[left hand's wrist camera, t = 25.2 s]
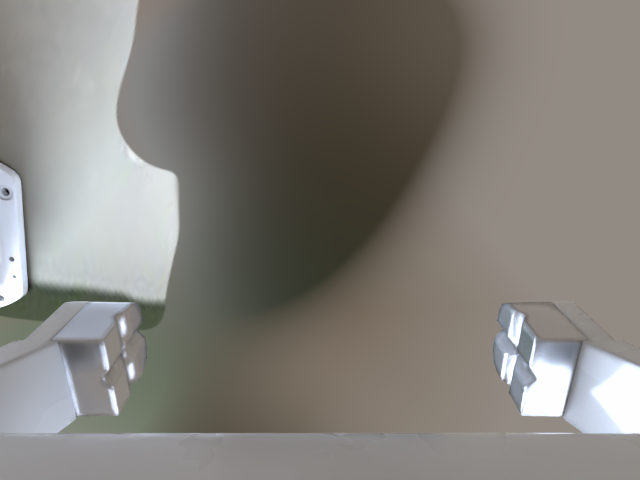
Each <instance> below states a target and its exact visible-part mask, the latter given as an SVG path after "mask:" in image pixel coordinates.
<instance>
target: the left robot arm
mask: <svg viewBox="0 0 640 480" xmlns="http://www.w3.org/2000/svg"><path fill="white" fill-rule="evenodd" d="M6 189H8V190H9V192H10V194H8V193H7V192H6ZM27 292H28V278H27V263H26V248H25V233H24V218H23V203H22V188H21V180H20V177H19V175H18V174H17V173H16V172H15V171H14V170H12V169H11V168H9V167H7V166H6V165H4V164H2V163H0V307H2V306H5V305H8V304H11V303H13V302H15V301H16V300H18V299H20V298H21V297H23V296H24V295H25V294H26V293H27ZM1 295H2V296H4V298H3V297H2V296H1ZM141 322H142V315H141V310H140V307H139V306H138V305H137V303H125V302H90V301H85V302H66V303H64V304H63V305H62V306H61V307H59V308H58V309H57V310H56V311H55V312H54V313H53V314H52V315H51V316H50V317H49V318H48V319H47V320H46V321H44V322H43V323H42V324H41V325H40V326H39V327H38V328H37V329H36V330H35V331H34V332H33V333H32V334H30V335H29V336H28V337H27V338H26V339H25V340H24V341H14V342H12V343H10V344H7V345H5V346H2V347H0V480H640V347H638V346H635V345H633V344H631V343H628V342H626V341H616V340H615V339H614V338H613V337H612V336H611V335H610V334H609V333H607V332H606V331H605V330H604V329H603V328H602V327H601V326H600V325H599V324H598V323H597V322H596V321H595V320H594V319H592V318H591V317H590V316H589V315H588V314H587V313H586V312H585V311H584V310H583V309H582V308H581V307H580V306H578V305H577V304H576V303H574V302H571V301H566V302H524V303H504V304H502V306H501V308H500V310H499V315H498V322H499V323H500V325H501V327H502V328H503V329H502V330H501V331H500V332H499V334H498V335H497V336H496V337H495V339H494V346H493V356H494V364H495V367H496V370H497V373H498V374H499V376H500V378H501V379H502V380H503V381H505V382H506V383H508V384H510V390H509V394H510V396H511V397H512V399H513V401H514V403H515V404H516V406H517V408H518V409H519V411H520V413H521V415H525V416H562V417H564V419H565V420H566V421H568V422H569V423H570V424H572V425H573V426H575V427H576V428H577V429H578V430H580V431H581V432H582V433H58V432H59V431H60V430H62V429H63V428H64V427H66V426H67V425H68V424H70V423H71V422H72V421H74V420H75V419H76V417H78V416H113V415H119V413H120V411H121V410H122V408H123V406H124V404H125V403H126V401H127V399H128V397H129V396H130V394H131V391H130V384H132V383H134V382H135V381H137V380H138V379H139V378H140V376H141V374H142V373H143V371H144V367H145V363H146V359H147V345H146V338H145V337H144V336H143V335H142V334H141V333H140V331H139V330H138V329H137V328H138V327H139V325H140V323H141Z"/></svg>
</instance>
